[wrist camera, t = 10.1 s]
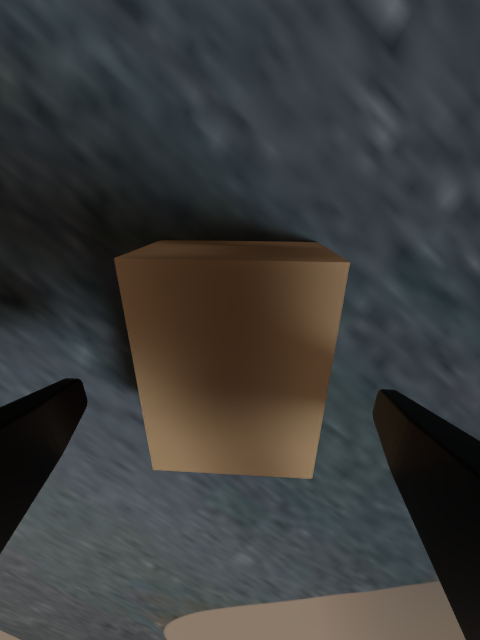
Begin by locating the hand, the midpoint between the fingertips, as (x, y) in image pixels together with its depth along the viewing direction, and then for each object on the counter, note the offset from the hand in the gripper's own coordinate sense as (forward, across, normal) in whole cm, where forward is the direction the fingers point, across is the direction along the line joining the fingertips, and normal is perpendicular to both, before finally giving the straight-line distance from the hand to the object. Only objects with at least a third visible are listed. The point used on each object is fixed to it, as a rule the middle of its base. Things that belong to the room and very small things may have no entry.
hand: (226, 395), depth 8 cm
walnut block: (+4, 0, 0) cm, 4 cm away
